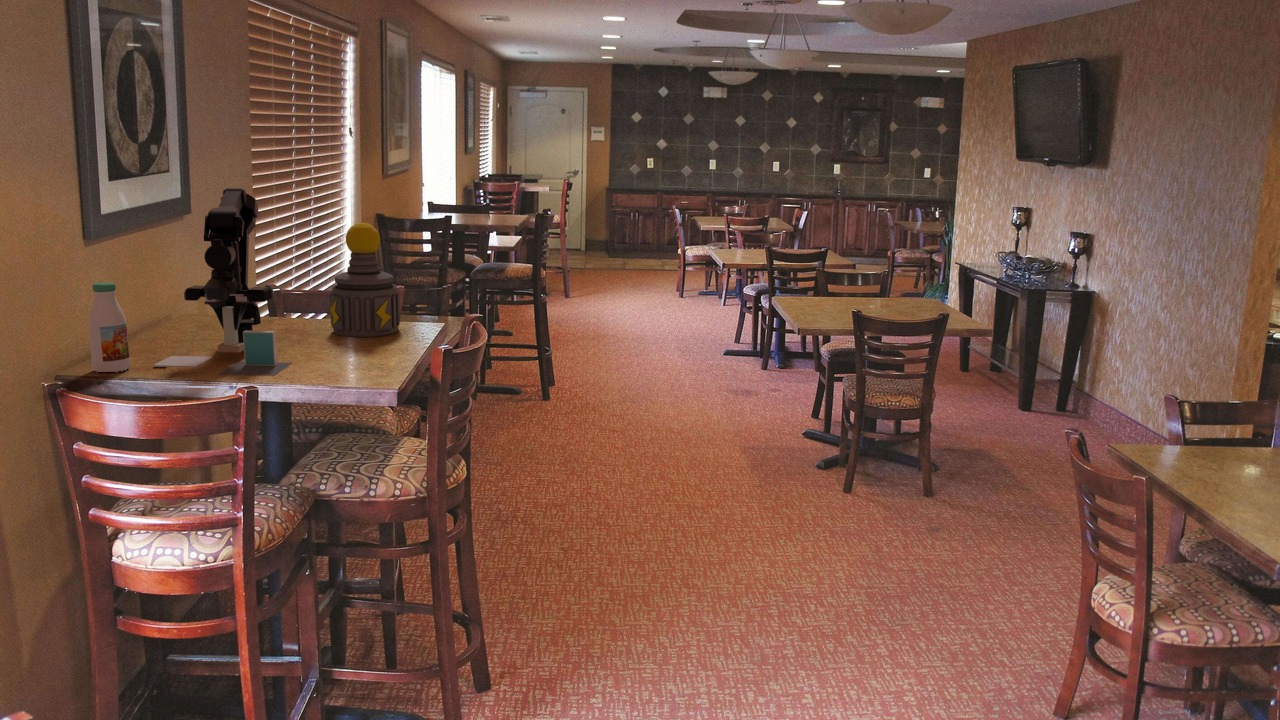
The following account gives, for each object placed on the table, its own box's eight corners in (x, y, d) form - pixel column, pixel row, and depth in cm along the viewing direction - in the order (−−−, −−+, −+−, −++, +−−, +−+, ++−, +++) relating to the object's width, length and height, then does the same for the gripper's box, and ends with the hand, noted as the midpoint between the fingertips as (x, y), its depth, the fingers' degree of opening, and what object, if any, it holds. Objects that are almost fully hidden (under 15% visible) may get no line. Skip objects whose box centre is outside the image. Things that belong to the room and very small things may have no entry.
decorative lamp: (354, 341, 273) (349, 227, 267) (317, 330, 286) (312, 221, 279) (414, 332, 287) (411, 223, 280) (377, 322, 299) (373, 218, 293)
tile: (247, 363, 243) (245, 330, 241) (277, 364, 243) (275, 331, 241) (244, 365, 241) (242, 331, 240) (274, 366, 241) (273, 332, 240)
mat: (238, 363, 245) (238, 361, 245) (293, 364, 245) (293, 362, 245) (216, 376, 233) (216, 374, 232) (274, 377, 233) (274, 375, 233)
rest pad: (171, 358, 249) (171, 355, 249) (213, 359, 249) (213, 356, 249) (152, 367, 239) (152, 365, 239) (196, 368, 239) (196, 366, 239)
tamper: (224, 348, 249) (221, 305, 247) (245, 348, 249) (242, 305, 247) (218, 351, 245) (215, 308, 243) (239, 352, 246) (236, 308, 243)
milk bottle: (89, 374, 232) (80, 286, 227) (96, 367, 239) (88, 281, 234) (127, 373, 234) (119, 285, 229) (133, 365, 241) (125, 280, 237)
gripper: (171, 267, 235) (176, 335, 238) (253, 269, 235) (257, 337, 239) (192, 261, 246) (196, 326, 249) (270, 263, 246) (274, 328, 249)
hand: (230, 329), depth 246 cm, fingers closed on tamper, 2 cm apart
